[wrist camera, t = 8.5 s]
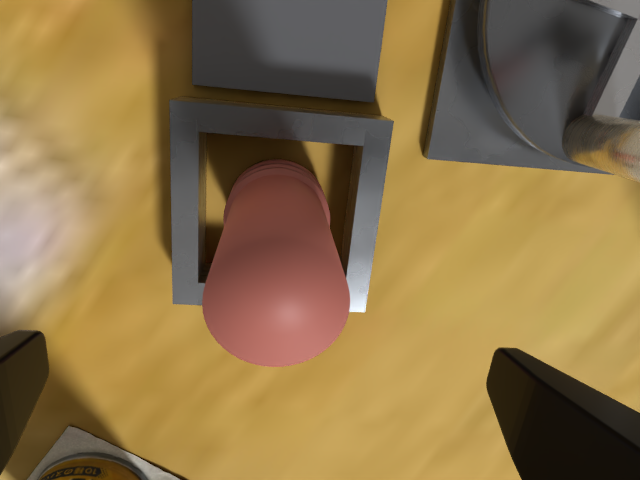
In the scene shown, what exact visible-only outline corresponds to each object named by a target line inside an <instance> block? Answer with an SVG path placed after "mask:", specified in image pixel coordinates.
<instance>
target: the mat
mask: <svg viewBox="0 0 640 480" xmlns="http://www.w3.org/2000/svg"><path fill="white" fill-rule="evenodd" d="M386 7H387V0H192V85H202V86H212V87H222V88H232V89H242V90H253V91H263V92H273V93H283V94H293V95H304V96H314V97H324V98H334V99H344V100H355V101H365V102H374V97H375V90H376V82H377V75H378V67H379V60H380V52H381V45H382V37H383V30H384V22H385V15H386Z"/></svg>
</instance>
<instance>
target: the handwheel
mask: <svg viewBox="0 0 640 480" xmlns="http://www.w3.org/2000/svg"><path fill="white" fill-rule="evenodd" d="M477 38H478V54H479V60H480V66H481V72H482V75H483V78H484V81H485V85H486V88H487V91H488V93H489V95H490V97H491V100H492V102H493V104H494V106H495V108H496V109H497V111H498V112H499V114H500V115H501V117H502V119H503V120H504V122H505V123H506V124H507V125H508V126H509V127H510V128H511V129H512V131H513V132H514V133H515V134H516V135H517V136H518V137H520V138H521V139H522V140H523V141H525V142H526V143H527V144H528V145H530V146H531V147H533V148H535V149H537V150H538V151H540V152H542V153H544V154H546V155H549V156H551V157H554V158H557V159H559V160H562V161H565V162H568V163H571V164H575V165H579V166H584V167H589V168H596V169H599V170H602V171H605V172H608V173H612V174H615V175H618V176H621V177H624V178H627V179H630V180H633V181H636V182H640V0H480V4H479V12H478V25H477Z"/></svg>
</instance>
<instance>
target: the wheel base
mask: <svg viewBox="0 0 640 480" xmlns="http://www.w3.org/2000/svg"><path fill="white" fill-rule="evenodd" d="M479 4H480V0H451V1H450V6H449V12H448V18H447V23H446V29H445V35H444V40H443V46H442V52H441V57H440V63H439V68H438V74H437V80H436V85H435V91H434V97H433V102H432V108H431V114H430V119H429V125H428V131H427V136H426V142H425V148H424V153H423V157H425V158H427V159H434V160H446V161H458V162H470V163H482V164H494V165H505V166H517V167H529V168H541V169H553V170H565V171H576V172H588V173H600V174H612V173H608V172H605V171H602V170H599V169H596V168H589V167H584V166H579V165H575V164H571V163H568V162H565V161H562V160H559V159H557V158H554V157H551V156H549V155H546V154H544V153H542V152H540V151H538V150H537V149H535V148H533V147H531V146H530V145H528V144H527V143H526V142H525V141H523V140H522V139H521V138H520V137H518V136H517V135H516V134H515V133H514V132H513V131H512V129H511V128H510V127H509V126H508V125H507V124H506V123H505V122H504V120H503V119H502V117H501V115H500V114H499V112H498V111H497V109H496V108H495V106H494V104H493V102H492V100H491V97H490V95H489V93H488V91H487V88H486V85H485V81H484V78H483V75H482V72H481V66H480V60H479V54H478V38H477V25H478V12H479ZM612 175H615V174H612Z"/></svg>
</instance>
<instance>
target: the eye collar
mask: <svg viewBox="0 0 640 480" xmlns="http://www.w3.org/2000/svg"><path fill="white" fill-rule="evenodd" d="M169 104H170V164H171V224H172V285H173V304H187V305H202V298H203V291H204V287H205V283H206V280H207V277H208V274H209V271H210V268H211V265H212V263H205V249H206V160H207V133H218V134H229V135H241V136H253V137H264V138H276V139H287V140H299V141H310V142H322V143H334V144H345V145H354V151H353V159H352V167H351V175H350V183H349V191H348V199H347V207H346V215H345V224H344V232H343V240H342V248H341V256H340V261H341V265H342V268H343V271H344V274H345V277H346V280H347V283H348V287H349V292H350V309H349V312H365V309H366V302H367V296H368V289H369V282H370V276H371V269H372V262H373V256H374V249H375V243H376V236H377V229H378V223H379V216H380V209H381V203H382V196H383V189H384V183H385V176H386V170H387V163H388V156H389V150H390V143H391V136H392V130H393V123H394V121H393V120H391V119H388V118H386V117H384V116H382V115H371V114H360V113H350V112H339V111H329V110H318V109H308V108H297V107H287V106H276V105H266V104H255V103H245V102H234V101H223V100H213V99H202V98H192V97H178V98H174V99H171V100H169Z"/></svg>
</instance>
